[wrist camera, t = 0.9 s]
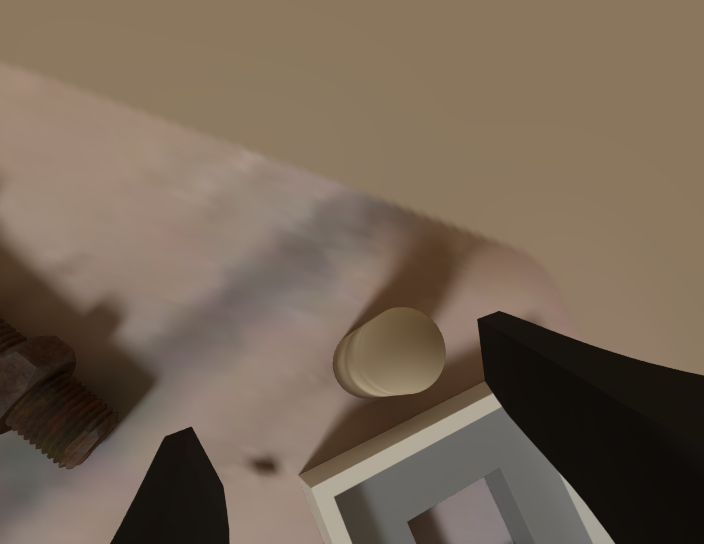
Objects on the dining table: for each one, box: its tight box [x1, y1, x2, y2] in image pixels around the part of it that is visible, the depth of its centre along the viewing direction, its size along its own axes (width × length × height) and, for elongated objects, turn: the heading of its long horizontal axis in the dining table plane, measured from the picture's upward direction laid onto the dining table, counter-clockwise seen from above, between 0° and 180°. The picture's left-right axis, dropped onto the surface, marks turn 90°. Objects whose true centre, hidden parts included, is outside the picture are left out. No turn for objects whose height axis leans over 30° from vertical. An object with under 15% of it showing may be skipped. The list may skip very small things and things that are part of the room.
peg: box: [333, 307, 446, 398], centre depth 25 cm, size 4×4×7 cm
